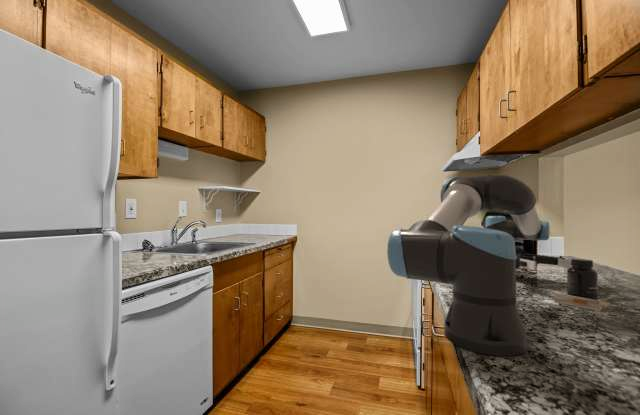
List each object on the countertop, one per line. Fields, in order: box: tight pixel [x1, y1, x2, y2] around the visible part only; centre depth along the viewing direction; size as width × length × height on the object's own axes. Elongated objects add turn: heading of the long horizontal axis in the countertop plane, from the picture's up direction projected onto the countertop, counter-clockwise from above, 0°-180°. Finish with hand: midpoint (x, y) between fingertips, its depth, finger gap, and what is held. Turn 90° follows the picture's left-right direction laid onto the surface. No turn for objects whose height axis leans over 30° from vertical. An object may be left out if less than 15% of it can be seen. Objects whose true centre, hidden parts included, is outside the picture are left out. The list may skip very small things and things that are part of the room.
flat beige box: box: [553, 292, 612, 312], centre depth 89 cm, size 10×10×3 cm
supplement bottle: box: [566, 258, 599, 300], centre depth 89 cm, size 7×7×12 cm
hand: (555, 265), depth 99 cm, fingers open, 13 cm apart
